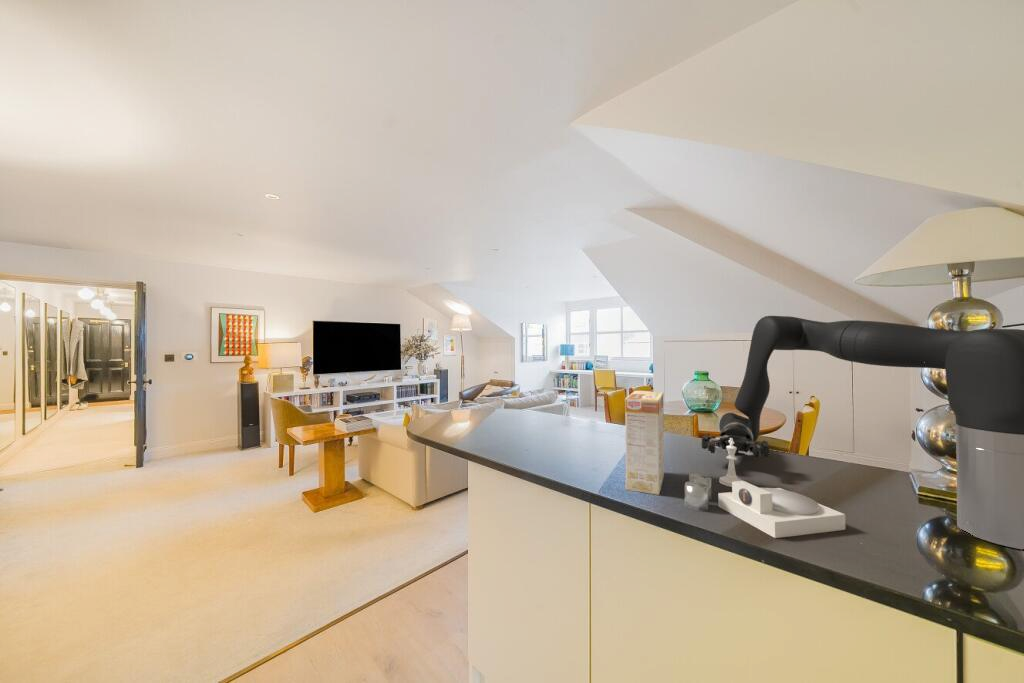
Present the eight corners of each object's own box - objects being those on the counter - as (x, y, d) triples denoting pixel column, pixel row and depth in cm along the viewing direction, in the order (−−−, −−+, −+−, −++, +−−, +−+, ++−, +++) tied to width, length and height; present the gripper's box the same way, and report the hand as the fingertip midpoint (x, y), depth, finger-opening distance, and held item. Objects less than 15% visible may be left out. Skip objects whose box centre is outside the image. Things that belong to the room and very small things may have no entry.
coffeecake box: (634, 469, 93) (634, 390, 93) (665, 473, 90) (665, 391, 90) (623, 489, 79) (623, 397, 80) (659, 495, 76) (659, 399, 77)
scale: (779, 500, 74) (779, 471, 74) (845, 529, 62) (845, 495, 62) (718, 506, 71) (718, 476, 71) (774, 538, 59) (774, 501, 59)
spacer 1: (701, 492, 78) (701, 472, 78) (715, 499, 74) (715, 479, 75) (684, 493, 78) (684, 474, 78) (698, 501, 74) (698, 480, 74)
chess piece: (737, 479, 86) (737, 435, 86) (749, 488, 81) (748, 441, 81) (715, 479, 86) (714, 435, 86) (725, 487, 81) (724, 440, 81)
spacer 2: (698, 501, 74) (698, 480, 74) (713, 510, 70) (713, 488, 70) (680, 503, 73) (680, 482, 73) (694, 511, 69) (694, 490, 69)
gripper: (706, 421, 105) (699, 431, 91) (768, 427, 97) (770, 439, 83) (706, 448, 105) (699, 462, 91) (768, 456, 97) (770, 473, 83)
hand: (733, 451), depth 87 cm, fingers open, 8 cm apart
